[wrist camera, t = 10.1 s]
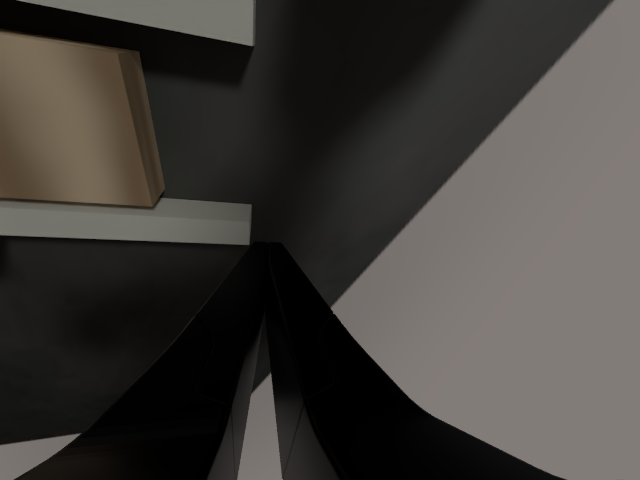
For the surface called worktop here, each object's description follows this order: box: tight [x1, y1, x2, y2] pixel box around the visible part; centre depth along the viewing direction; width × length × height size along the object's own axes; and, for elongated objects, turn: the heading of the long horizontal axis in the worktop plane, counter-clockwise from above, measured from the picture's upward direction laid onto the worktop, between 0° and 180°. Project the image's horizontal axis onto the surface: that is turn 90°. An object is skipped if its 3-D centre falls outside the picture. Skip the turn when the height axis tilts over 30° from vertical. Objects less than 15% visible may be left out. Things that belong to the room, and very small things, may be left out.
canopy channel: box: [0, 0, 256, 245], centre depth 13 cm, size 20×14×6 cm
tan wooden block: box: [0, 28, 165, 206], centre depth 14 cm, size 13×8×3 cm, turn 81°
